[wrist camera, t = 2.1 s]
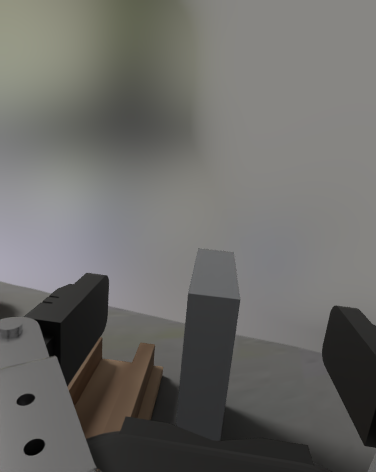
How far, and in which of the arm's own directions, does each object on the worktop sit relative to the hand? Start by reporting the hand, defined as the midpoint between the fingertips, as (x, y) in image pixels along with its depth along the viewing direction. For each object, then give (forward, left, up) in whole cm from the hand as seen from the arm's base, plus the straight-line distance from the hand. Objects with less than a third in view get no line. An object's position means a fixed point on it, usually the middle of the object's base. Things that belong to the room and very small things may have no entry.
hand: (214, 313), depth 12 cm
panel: (+2, -11, -17) cm, 21 cm away
